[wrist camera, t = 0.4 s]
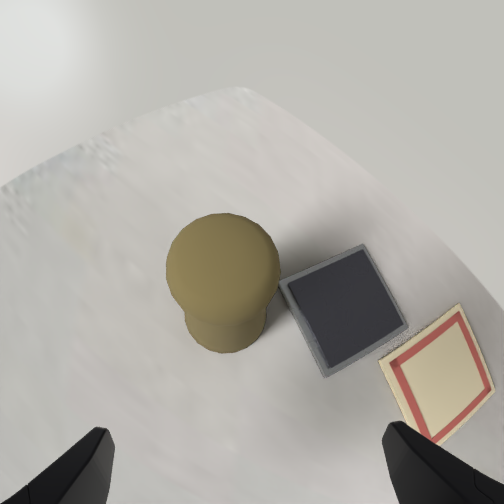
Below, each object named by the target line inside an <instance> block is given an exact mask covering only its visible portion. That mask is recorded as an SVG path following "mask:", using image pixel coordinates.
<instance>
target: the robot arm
mask: <svg viewBox="0 0 504 504" xmlns="http://www.w3.org/2000/svg"><path fill="white" fill-rule="evenodd" d="M382 445H383V449H384V453H385V457H386V462H387V466H388V470H389V474H390V478H391V481H392V484H393V487H394V490H395V493H396V495H397V498H398V501H399V504H504V484H502V483H500V482H498V481H496V480H494V479H491V478H490V477H488V476H486V475H484V474H483V473H481V472H479V471H478V470H476V469H473V467H471V466H470V465H468V464H466V463H465V462H463V461H462V460H460V459H458V458H457V457H455V456H454V455H452V454H451V453H449V452H448V451H446V450H444V449H443V448H441V447H440V446H438V445H437V444H435V443H434V442H432V441H431V440H429V439H428V438H426V437H425V436H423V435H422V434H420V433H419V432H417V431H416V430H414V429H413V428H411V427H410V426H408V425H407V424H406V423H404V422H402V421H395V422H391V423H390V424H389V425H388V427H387V429H386V431H385V433H384V435H383V438H382ZM114 452H115V445H114V442H113V439H112V437H111V435H110V432H109V430H108V429H107V428H102V427H95V428H93V429H92V430H91V431H90V432H89V433H87V434H86V435H85V436H84V437H83V438H82V439H81V440H79V441H78V442H77V443H76V444H75V445H73V446H72V447H71V448H70V449H69V450H68V451H66V452H65V453H64V454H63V455H62V456H60V457H59V458H58V459H57V460H56V461H55V462H53V463H52V464H51V465H50V466H49V467H47V468H46V469H45V470H44V471H43V472H41V473H40V474H39V475H38V476H37V477H35V478H34V479H33V480H32V481H30V482H29V483H28V485H25V486H24V487H23V488H22V489H21V490H19V491H18V492H17V493H15V494H14V495H13V496H11V497H10V498H8V499H7V500H5V501H4V502H2V503H1V504H106V501H107V497H108V493H109V488H110V482H111V474H112V466H113V459H114Z"/></svg>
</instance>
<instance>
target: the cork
mask: <svg viewBox="0 0 504 504" xmlns="http://www.w3.org/2000/svg"><path fill="white" fill-rule="evenodd" d="M280 274H281V269H280V262H279V255H278V251H277V249H276V247H275V245H274V243H273V241H272V239H271V237H270V236H269V235H268V234H267V233H266V232H265V230H264V229H263V228H262V227H261V226H260V225H258V224H257V223H255V222H253V221H251V220H249V219H248V218H246V217H243V216H239V215H234V214H230V213H221V214H210V215H207V216H204V217H202V218H199V219H196V220H194V221H193V222H192V223H190V224H189V225H187V226H186V227H185V228H183V229H182V230H181V232H180V233H179V234H178V235H177V237H176V238H175V239H174V241H173V242H172V245H171V248H170V250H169V253H168V256H167V261H166V280H167V283H168V286H169V288H170V291H171V294H172V296H173V298H174V299H175V300H176V302H177V303H178V304H179V305H180V307H181V308H182V309H183V310H184V312H185V322H186V325H187V328H188V330H189V333H190V334H191V335H192V337H193V338H194V339H195V340H196V342H197V343H198V344H200V345H202V346H203V347H205V348H206V349H208V350H210V351H214V352H218V353H235V352H237V351H240V350H242V349H245V348H247V347H248V346H250V345H251V344H252V343H253V342H254V341H255V340H257V338H258V337H259V335H260V333H261V332H262V330H263V328H264V324H265V320H266V307H267V306H268V304H269V302H270V301H271V299H272V297H273V296H274V294H275V292H276V291H277V288H278V284H279V279H280Z"/></svg>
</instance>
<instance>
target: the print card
mask: <svg viewBox="0 0 504 504" xmlns="http://www.w3.org/2000/svg"><path fill="white" fill-rule="evenodd" d="M378 362H379V364H380V366H381V368H382V370H383V372H384V375H385V377H386V379H387V381H388V383H389V385H390V387H391V389H392V392H393V394H394V396H395V398H396V400H397V403H398V405H399V407H400V409H401V411H402V414H403V416H404V418H405V421H406V423H407V425H408V426H410V427H411V428H413V429H414V430H416V431H417V432H419V433H420V434H422V435H423V436H425V437H426V438H428V439H429V440H431V441H432V442H434V443H435V444H437V445H438V446H440V445H441V444H442V443H444V442H445V441H446V440H447V439H448V438H449V437H450V436H451V435H453V434H454V433H455V432H456V431H457V430H458V429H459V428H460V427H461V426H462V425H463V424H464V423H465V422H466V421H467V420H468V419H469V418H470V417H471V416H472V415H473V414H474V413H475V412H476V411H477V410H478V409H479V408H480V407H481V406H482V405H483V404H484V403H485V402H486V401H487V400H488V399H489V398H490V397H491V395H492V394H493V393H494V392H495V388H494V385H493V382H492V379H491V376H490V374H489V371H488V368H487V366H486V363H485V360H484V358H483V355H482V353H481V350H480V348H479V346H478V343H477V341H476V338H475V336H474V334H473V332H472V329H471V327H470V325H469V323H468V320H467V318H466V316H465V314H464V312H463V310H462V308H461V306H460V303H458V304H456V305H455V306H454V307H452V308H451V309H450V310H449V311H447V312H446V313H445V314H444V315H442V316H441V317H440V318H438V319H437V320H436V321H434V322H433V323H432V324H430V325H429V326H428V327H426V328H425V329H424V330H422V331H421V332H420V333H418V334H417V335H415V336H414V337H413V338H411V339H410V340H408V341H407V342H405V343H404V344H402V345H401V346H400V347H398V348H397V349H395V350H394V351H392V352H391V353H389V354H388V355H386V356H384V357H383V358H381V359H380V360H378Z"/></svg>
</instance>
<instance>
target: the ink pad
mask: <svg viewBox="0 0 504 504" xmlns="http://www.w3.org/2000/svg"><path fill="white" fill-rule="evenodd" d="M278 286H279V288H280V290H281V292H282V294H283V296H284V298H285V300H286V302H287V304H288V306H289V308H290V310H291V312H292V314H293V316H294V318H295V320H296V322H297V324H298V326H299V328H300V330H301V332H302V334H303V336H304V338H305V340H306V342H307V344H308V346H309V349H310V351H311V353H312V355H313V357H314V359H315V361H316V363H317V365H318V367H319V369H320V371H321V373H322V375H323V377H324V378H327V377H328V376H330V375H332V374H334V373H336V372H338V371H339V370H341V369H343V368H345V367H346V366H348V365H350V364H352V363H353V362H355V361H357V360H358V359H360V358H362V357H363V356H365V355H367V354H368V353H370V352H372V351H373V350H375V349H376V348H378V347H380V346H381V345H383V344H384V343H386V342H388V341H389V340H391V339H392V338H394V337H395V336H397V335H398V334H400V333H401V332H403V331H404V330H406V329H407V328H408V326H407V324H406V322H405V320H404V318H403V316H402V314H401V312H400V310H399V308H398V306H397V304H396V303H395V301H394V299H393V297H392V295H391V293H390V291H389V289H388V287H387V286H386V284H385V282H384V280H383V278H382V276H381V275H380V273H379V271H378V269H377V267H376V266H375V264H374V262H373V260H372V259H371V257H370V255H369V253H368V252H367V250H366V248H365V247H364V245H363V244H361V245H359V246H357V247H354V248H352V249H350V250H348V251H346V252H343V253H341V254H339V255H337V256H334V257H332V258H330V259H328V260H326V261H323V262H321V263H319V264H317V265H314V266H312V267H310V268H307V269H305V270H303V271H301V272H298V273H296V274H294V275H291V276H289V277H287V278H285V279H282V280H280V281H279V284H278Z"/></svg>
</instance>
